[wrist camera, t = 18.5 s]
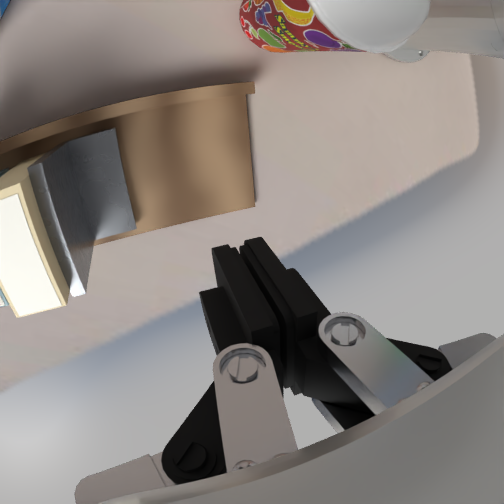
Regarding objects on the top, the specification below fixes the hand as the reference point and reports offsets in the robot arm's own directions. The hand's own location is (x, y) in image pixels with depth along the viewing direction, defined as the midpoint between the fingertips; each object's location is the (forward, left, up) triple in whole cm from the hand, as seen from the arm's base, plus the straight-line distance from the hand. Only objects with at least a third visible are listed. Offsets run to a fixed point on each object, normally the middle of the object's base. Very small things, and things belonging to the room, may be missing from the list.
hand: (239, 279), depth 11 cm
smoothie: (-10, -12, -20) cm, 25 cm away
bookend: (+7, 0, -18) cm, 20 cm away
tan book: (+11, 0, -19) cm, 22 cm away
